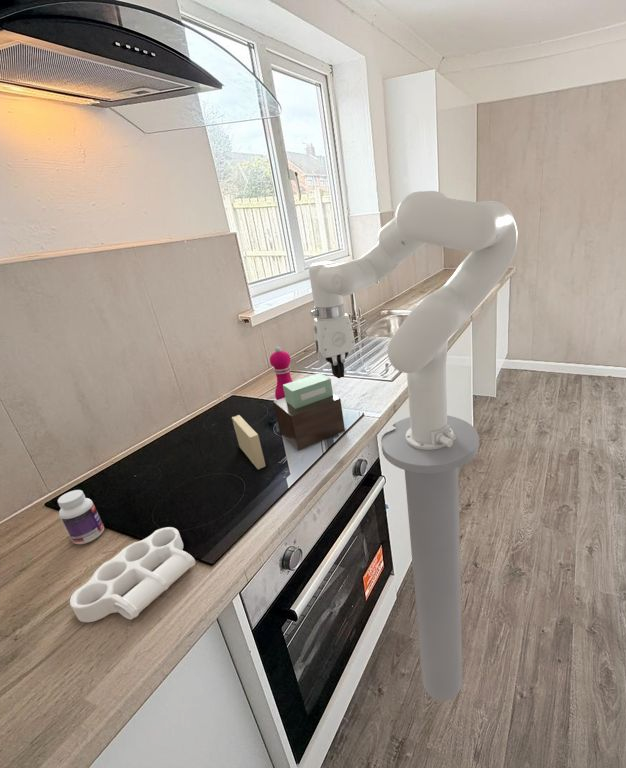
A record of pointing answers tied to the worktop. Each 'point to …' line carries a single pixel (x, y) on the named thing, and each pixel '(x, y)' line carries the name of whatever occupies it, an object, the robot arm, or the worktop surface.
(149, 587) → the knuckle duster
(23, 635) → the worktop surface
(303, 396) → the tissue box
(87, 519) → the pill bottle
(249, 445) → the rail
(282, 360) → the pepper mill
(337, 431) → the block
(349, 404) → the worktop surface
